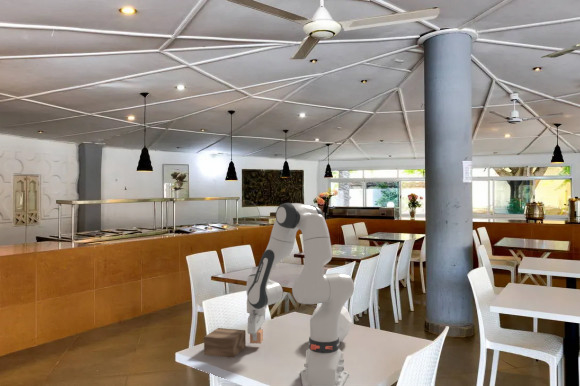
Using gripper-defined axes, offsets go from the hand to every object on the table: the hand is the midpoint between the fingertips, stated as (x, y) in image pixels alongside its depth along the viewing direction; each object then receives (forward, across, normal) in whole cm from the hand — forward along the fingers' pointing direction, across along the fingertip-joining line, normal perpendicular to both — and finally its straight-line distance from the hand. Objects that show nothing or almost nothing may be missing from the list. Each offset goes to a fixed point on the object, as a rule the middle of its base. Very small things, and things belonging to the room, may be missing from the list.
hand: (256, 338), depth 200 cm
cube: (+2, 0, 0) cm, 2 cm away
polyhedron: (+5, +12, -34) cm, 36 cm away
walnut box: (+4, -6, +13) cm, 15 cm away
